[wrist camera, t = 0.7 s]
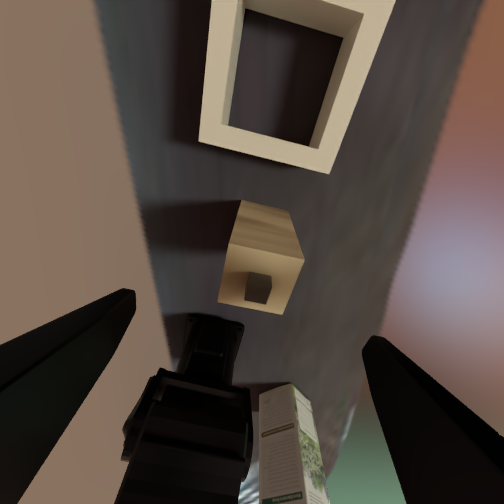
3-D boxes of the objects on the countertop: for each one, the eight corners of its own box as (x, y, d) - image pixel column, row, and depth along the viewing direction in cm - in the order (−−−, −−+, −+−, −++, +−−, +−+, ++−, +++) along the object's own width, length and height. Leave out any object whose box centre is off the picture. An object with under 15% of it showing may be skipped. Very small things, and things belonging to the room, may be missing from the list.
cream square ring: (318, 167, 16) (329, 174, 14) (208, 139, 16) (198, 141, 13) (372, 16, 12) (401, -15, 10) (228, -29, 12) (218, -75, 9)
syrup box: (257, 393, 32) (254, 569, 19) (292, 380, 30) (315, 565, 17) (278, 411, 34) (288, 579, 21) (312, 400, 32) (346, 577, 19)
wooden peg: (275, 251, 20) (283, 327, 12) (232, 242, 20) (214, 314, 12) (288, 210, 18) (308, 270, 10) (241, 199, 18) (226, 252, 10)
